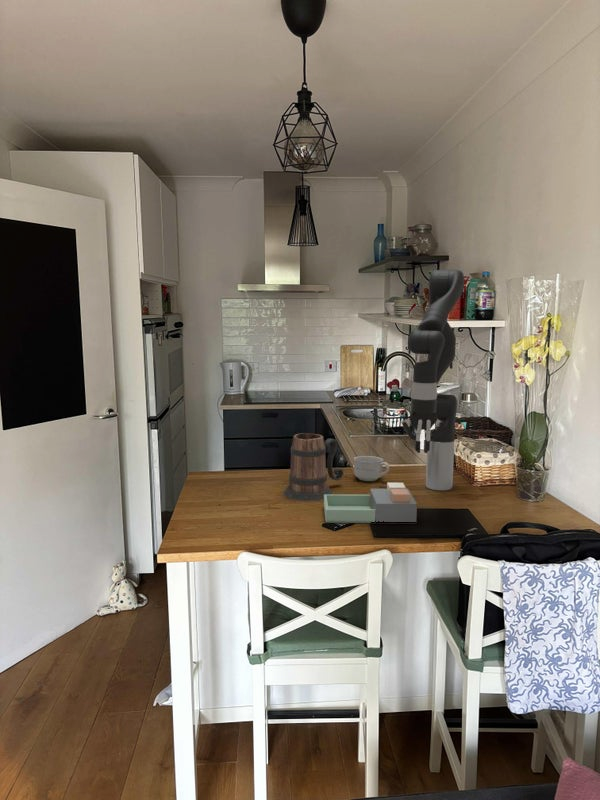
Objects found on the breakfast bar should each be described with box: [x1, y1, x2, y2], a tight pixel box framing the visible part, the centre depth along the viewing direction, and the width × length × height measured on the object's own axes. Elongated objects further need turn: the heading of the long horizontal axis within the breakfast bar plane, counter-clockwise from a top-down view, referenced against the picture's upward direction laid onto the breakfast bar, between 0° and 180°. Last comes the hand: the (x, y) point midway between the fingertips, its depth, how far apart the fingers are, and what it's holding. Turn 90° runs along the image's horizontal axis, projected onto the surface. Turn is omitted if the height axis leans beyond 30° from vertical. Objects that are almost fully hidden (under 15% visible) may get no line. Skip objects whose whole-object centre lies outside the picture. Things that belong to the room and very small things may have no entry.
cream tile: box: [386, 482, 407, 495], centre depth 178 cm, size 5×5×2 cm
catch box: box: [323, 494, 376, 524], centre depth 176 cm, size 14×15×4 cm
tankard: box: [282, 432, 344, 502], centre depth 197 cm, size 24×17×20 cm
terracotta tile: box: [390, 488, 410, 503], centre depth 172 cm, size 5×5×2 cm
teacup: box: [353, 455, 390, 482], centre depth 211 cm, size 14×11×8 cm
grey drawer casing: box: [369, 488, 418, 523], centre depth 176 cm, size 14×12×6 cm
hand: (421, 452), depth 176 cm, fingers closed
